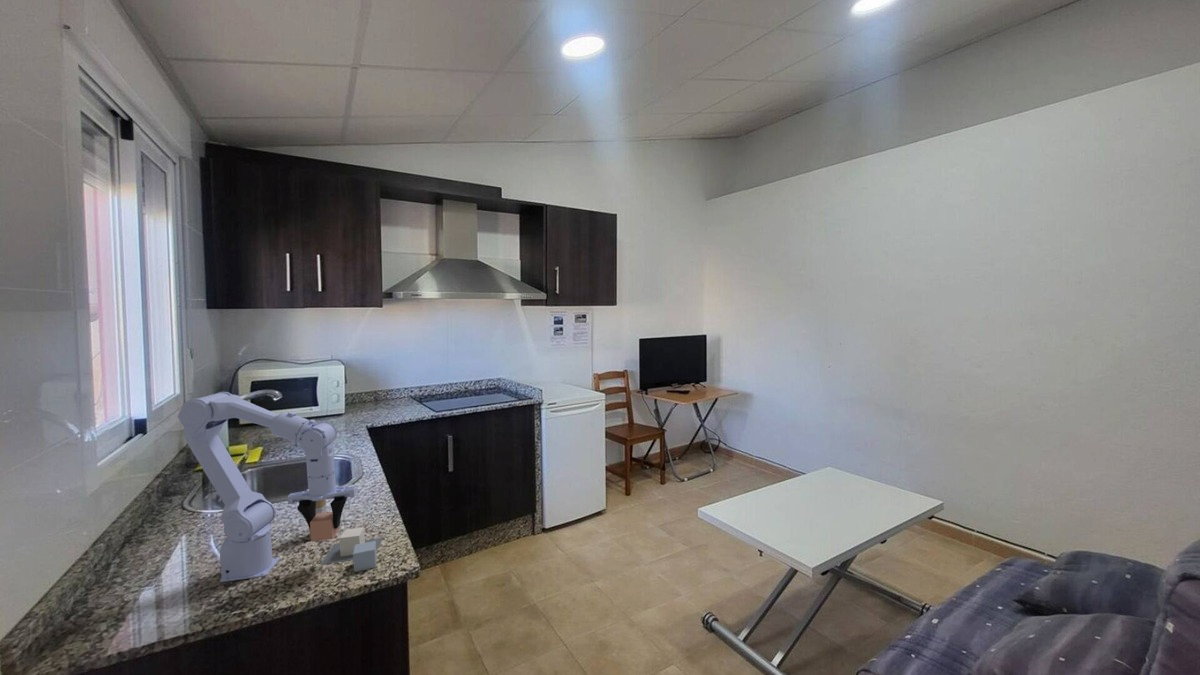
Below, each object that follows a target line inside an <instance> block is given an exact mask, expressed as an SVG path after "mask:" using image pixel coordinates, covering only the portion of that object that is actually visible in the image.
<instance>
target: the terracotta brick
mask: <svg viewBox="0 0 1200 675" xmlns="http://www.w3.org/2000/svg"><path fill="white" fill-rule="evenodd" d="M310 531H311V538H310V541H311V542H319V541H327V540H328V541H329V540H333V539H334V537H335V536H336V535H337V534H338V532H339V531H340V526H339V527H338V528H337V529H334V526H333V513H332V511H329V512H327V513H318V514H317V515H316V516H315V517H314V518H313V519H312V520H311V521H310Z"/></svg>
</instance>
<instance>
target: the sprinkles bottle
mask: <svg viewBox="0 0 1200 675" xmlns="http://www.w3.org/2000/svg"><path fill="white" fill-rule="evenodd" d="M327 511H328V510H327V503H326V499H323V500H319V501H316V515H317V514H318V513H327ZM308 535H309V539H311V531H310V529H309V534H308Z"/></svg>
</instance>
